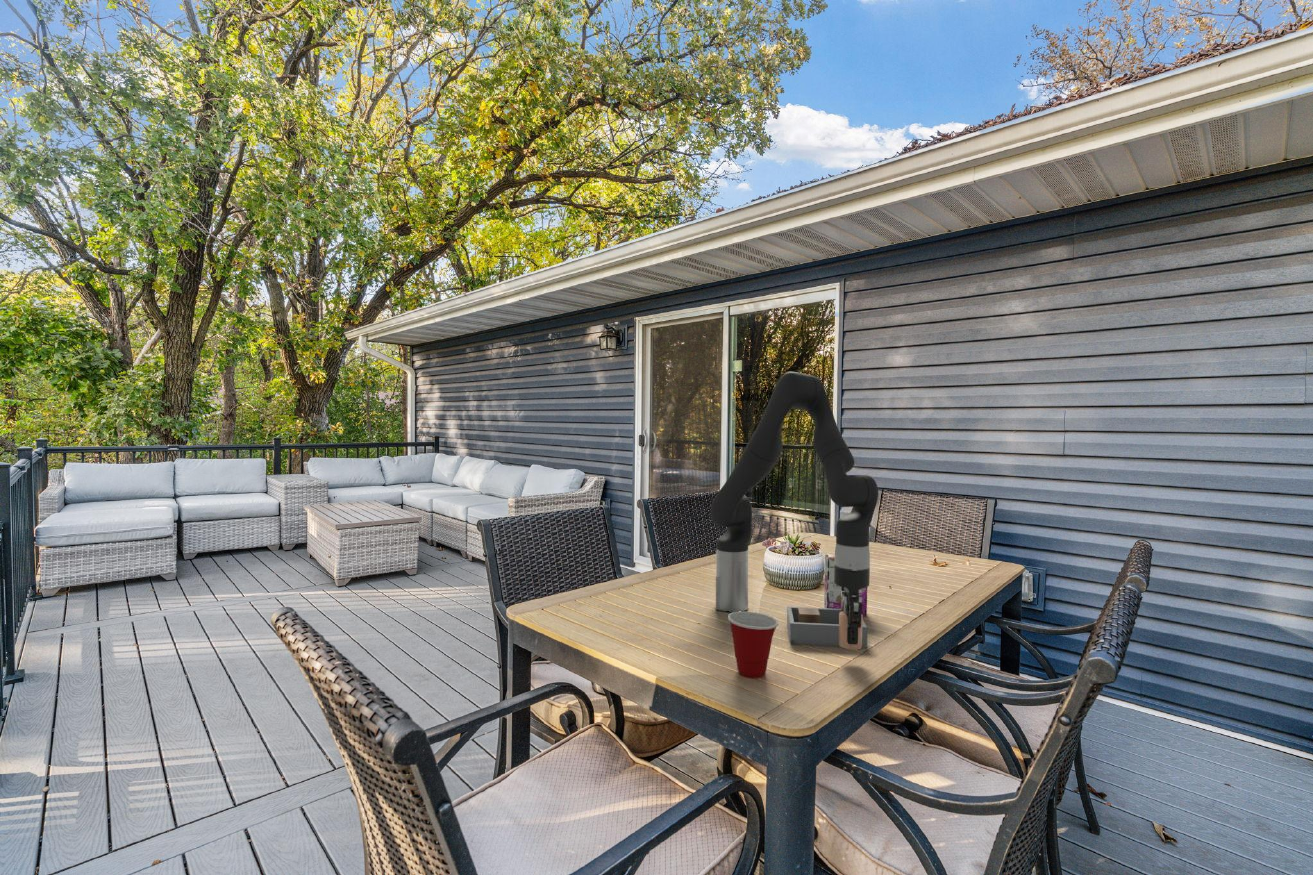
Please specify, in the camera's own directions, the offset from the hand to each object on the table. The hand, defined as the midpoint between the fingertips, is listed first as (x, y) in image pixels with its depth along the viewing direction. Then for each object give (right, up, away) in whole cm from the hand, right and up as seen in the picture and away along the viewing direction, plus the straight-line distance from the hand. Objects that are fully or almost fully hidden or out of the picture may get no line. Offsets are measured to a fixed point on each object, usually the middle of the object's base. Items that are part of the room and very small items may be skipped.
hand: (850, 638), depth 135 cm
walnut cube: (-5, -4, +18) cm, 19 cm away
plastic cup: (-23, -6, -6) cm, 24 cm away
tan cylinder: (0, -1, 0) cm, 1 cm away
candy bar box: (+10, -5, +36) cm, 38 cm away
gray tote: (-1, -5, +17) cm, 18 cm away
